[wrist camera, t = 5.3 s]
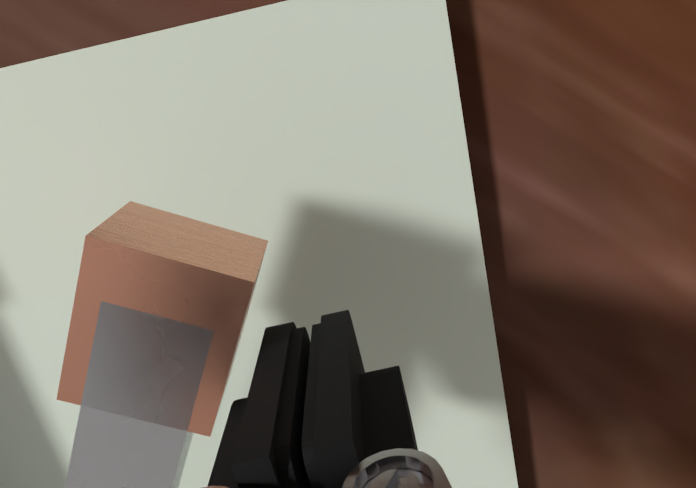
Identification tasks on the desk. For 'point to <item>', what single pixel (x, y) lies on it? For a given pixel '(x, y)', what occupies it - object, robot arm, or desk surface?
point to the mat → (260, 209)
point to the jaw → (152, 342)
